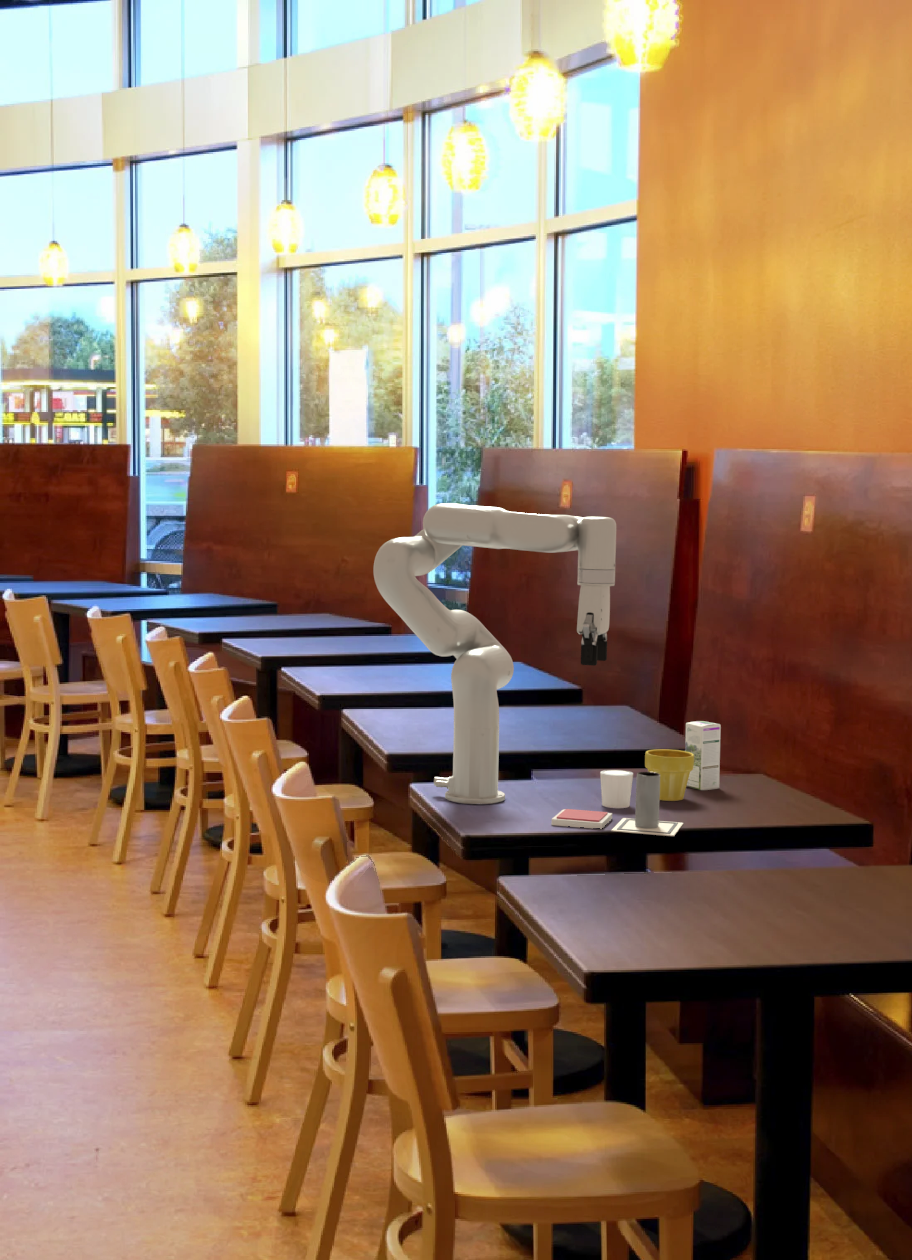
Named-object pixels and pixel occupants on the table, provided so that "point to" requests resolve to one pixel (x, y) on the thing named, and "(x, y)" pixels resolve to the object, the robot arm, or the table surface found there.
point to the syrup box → (703, 754)
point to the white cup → (616, 788)
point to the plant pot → (670, 771)
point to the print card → (662, 829)
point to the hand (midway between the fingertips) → (593, 662)
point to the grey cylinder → (647, 799)
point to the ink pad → (581, 818)
